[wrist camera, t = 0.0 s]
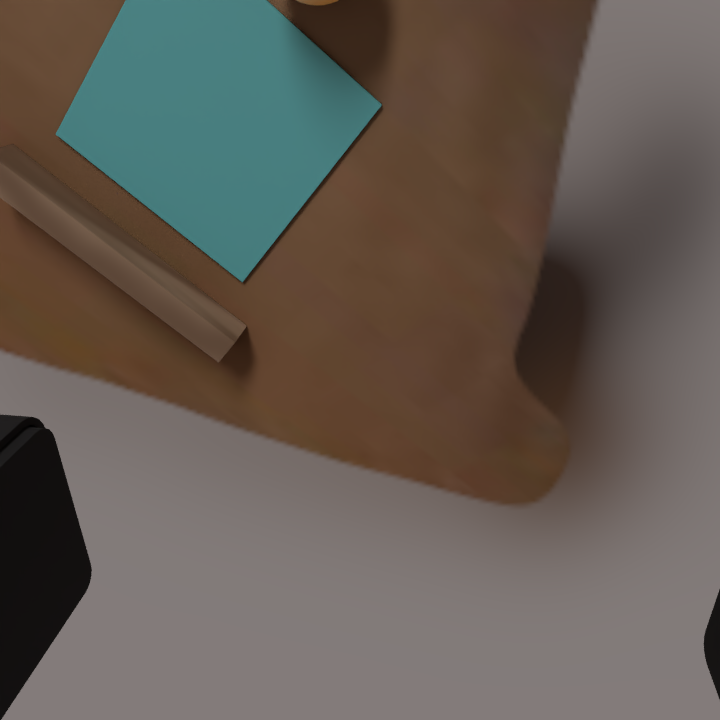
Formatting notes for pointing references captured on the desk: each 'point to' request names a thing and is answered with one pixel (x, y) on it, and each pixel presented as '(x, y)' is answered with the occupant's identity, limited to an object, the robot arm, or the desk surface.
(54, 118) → the desk surface
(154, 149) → the teal mark
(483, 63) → the desk surface
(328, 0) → the orange ball
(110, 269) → the wooden bar
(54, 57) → the desk surface
